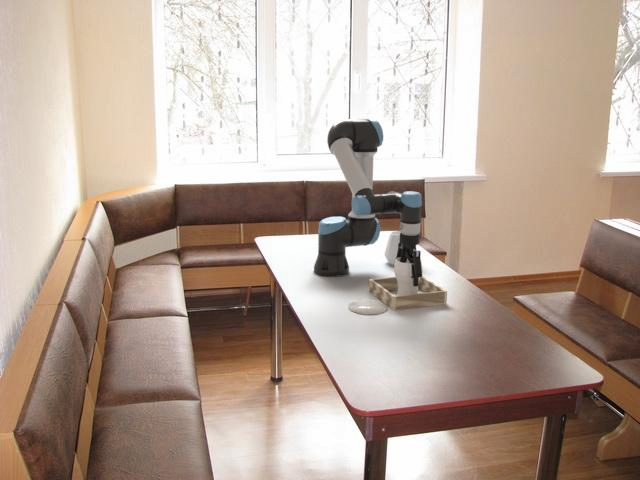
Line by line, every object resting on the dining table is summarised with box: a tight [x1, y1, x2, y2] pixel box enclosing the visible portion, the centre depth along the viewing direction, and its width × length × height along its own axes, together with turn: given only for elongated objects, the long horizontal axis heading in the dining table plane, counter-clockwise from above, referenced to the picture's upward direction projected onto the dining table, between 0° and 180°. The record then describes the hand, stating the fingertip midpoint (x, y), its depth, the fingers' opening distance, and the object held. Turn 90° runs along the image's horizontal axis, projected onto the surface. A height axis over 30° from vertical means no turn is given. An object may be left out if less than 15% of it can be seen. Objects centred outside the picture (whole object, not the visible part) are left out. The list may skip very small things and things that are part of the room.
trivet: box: [348, 299, 388, 316], centre depth 244 cm, size 14×14×1 cm
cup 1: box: [383, 230, 401, 266], centre depth 300 cm, size 13×13×14 cm
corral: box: [368, 275, 448, 311], centre depth 255 cm, size 22×22×5 cm
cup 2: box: [393, 257, 423, 296], centre depth 253 cm, size 11×11×15 cm
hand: (407, 289), depth 254 cm, fingers closed on cup 2, 11 cm apart
